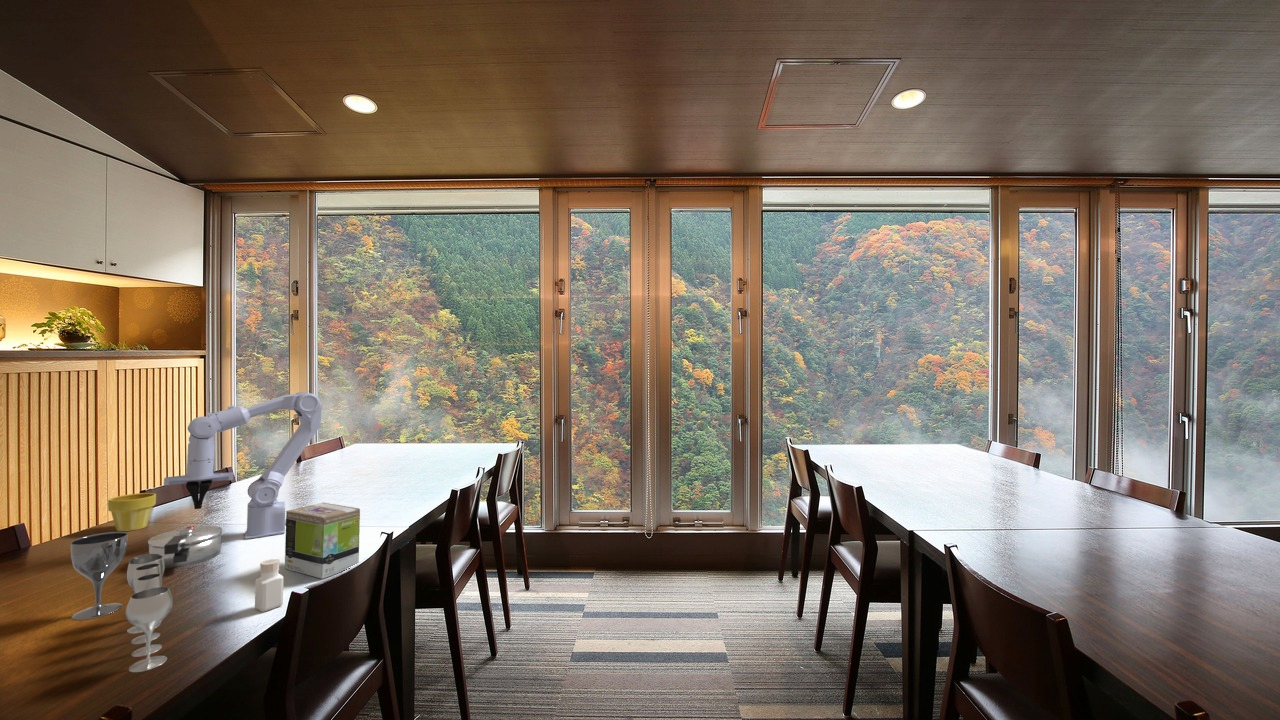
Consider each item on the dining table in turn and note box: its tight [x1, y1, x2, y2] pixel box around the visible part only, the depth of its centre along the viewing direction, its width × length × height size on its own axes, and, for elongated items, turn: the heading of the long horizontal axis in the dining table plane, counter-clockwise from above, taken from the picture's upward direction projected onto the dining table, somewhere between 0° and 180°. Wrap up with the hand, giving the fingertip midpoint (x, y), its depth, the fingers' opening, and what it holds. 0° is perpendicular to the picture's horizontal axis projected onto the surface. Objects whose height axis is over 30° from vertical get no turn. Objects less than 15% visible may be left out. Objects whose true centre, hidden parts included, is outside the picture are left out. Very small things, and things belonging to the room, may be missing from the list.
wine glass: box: [70, 531, 128, 621], centre depth 103 cm, size 8×8×15 cm
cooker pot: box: [148, 534, 222, 569], centre depth 129 cm, size 20×14×5 cm
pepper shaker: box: [254, 558, 284, 613], centre depth 105 cm, size 4×4×10 cm
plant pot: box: [107, 492, 157, 532], centre depth 155 cm, size 10×10×10 cm
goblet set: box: [125, 553, 174, 673], centre depth 93 cm, size 28×6×13 cm, turn 46°
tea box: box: [284, 502, 361, 580], centre depth 126 cm, size 15×10×15 cm
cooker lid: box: [147, 525, 223, 555], centre depth 129 cm, size 20×14×2 cm
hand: (198, 508), depth 141 cm, fingers closed
